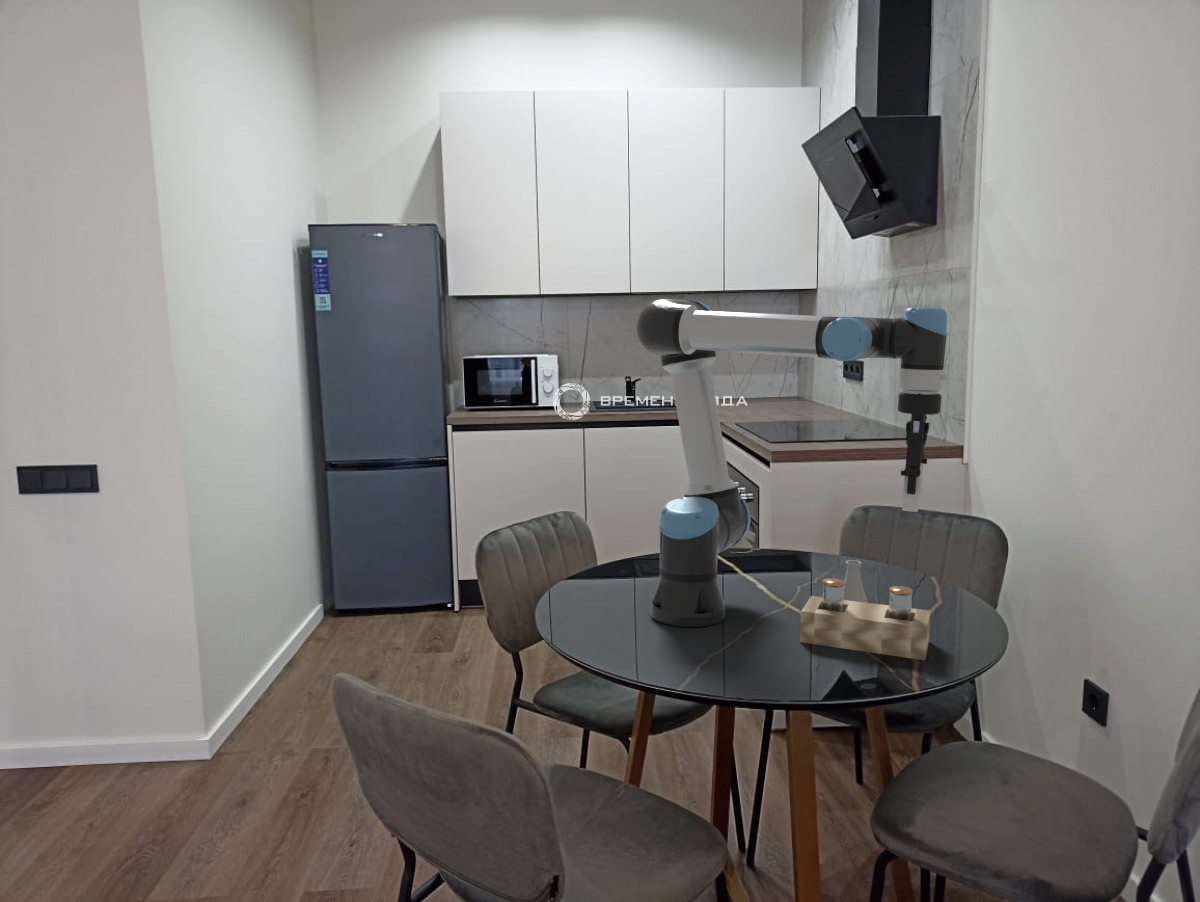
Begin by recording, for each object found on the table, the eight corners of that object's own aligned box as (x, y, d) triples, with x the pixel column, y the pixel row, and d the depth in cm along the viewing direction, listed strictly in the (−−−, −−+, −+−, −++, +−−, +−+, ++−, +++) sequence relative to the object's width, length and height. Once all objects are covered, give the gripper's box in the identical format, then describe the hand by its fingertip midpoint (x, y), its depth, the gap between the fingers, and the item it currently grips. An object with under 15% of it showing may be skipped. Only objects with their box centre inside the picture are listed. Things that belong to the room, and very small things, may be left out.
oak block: (800, 642, 162) (801, 611, 161) (810, 625, 171) (811, 595, 170) (925, 660, 153) (927, 627, 152) (928, 641, 162) (930, 610, 161)
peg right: (886, 621, 158) (888, 590, 157) (889, 614, 162) (890, 584, 161) (910, 624, 156) (911, 593, 156) (912, 617, 160) (913, 587, 159)
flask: (871, 615, 177) (873, 567, 176) (834, 612, 179) (836, 565, 177) (867, 603, 184) (870, 558, 183) (832, 601, 186) (834, 556, 184)
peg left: (820, 612, 163) (821, 583, 162) (823, 606, 167) (824, 577, 166) (841, 615, 161) (843, 585, 160) (845, 609, 165) (846, 579, 164)
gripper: (940, 398, 148) (930, 519, 152) (943, 387, 171) (934, 493, 174) (894, 396, 151) (885, 515, 154) (903, 386, 174) (895, 489, 177)
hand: (911, 503), depth 164 cm, fingers open, 13 cm apart
